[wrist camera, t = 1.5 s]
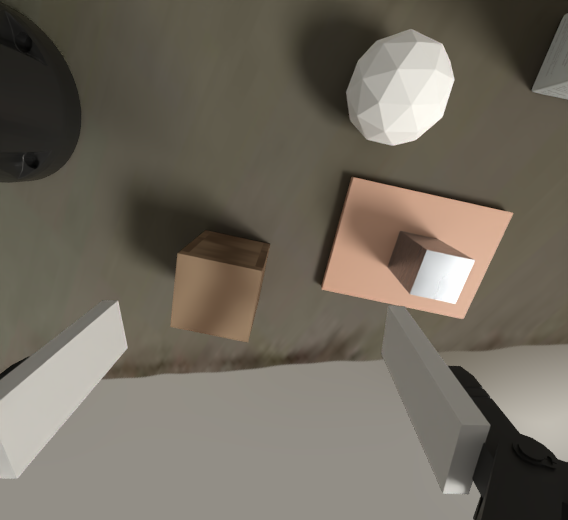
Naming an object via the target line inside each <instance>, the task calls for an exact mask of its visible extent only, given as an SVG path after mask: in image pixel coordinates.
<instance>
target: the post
mask: <svg viewBox="0 0 568 520" xmlns="http://www.w3.org/2000/svg"><path fill="white" fill-rule="evenodd" d="M474 261H475V260H474V259H472V258H470V257H468V256H467V255H465V254H463V253H461V252H460V251H458V250H456V249H455V248H453V247H451V246H449V245H448V244H446V243H444V242H443V241H441V240H439V239H436V238H431V237H426V236H422V235H417V234H413V233H408V232H404V231H400V233H399V235H398V238H397V241H396V244H395V247H394V250H393V252H392V255H391V258H390V261H389V264H388V269H389V270H390V271H391V272H392V273H393V275H394V276H395V277H396V278H397V280H398V281H399V282H400V283H401V284H402V286H403V287H404V288H405V289H406V290H407V292H408V293H409V294H411V295H415V296H420V297H425V298H430V299H434V300H439V301H444V302H449V303H453V304H455V303H456V301H457V299H458V297H459V295H460V292H461V290H462V288H463V286H464V284H465V281H466V279H467V277H468V275H469V273H470V270H471V268H472V266H473V264H474Z"/></svg>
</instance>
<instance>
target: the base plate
mask: <svg viewBox="0 0 568 520" xmlns="http://www.w3.org/2000/svg"><path fill="white" fill-rule="evenodd" d="M512 215H513V213H511V212H507V211H503V210H498V209H494V208H489V207H485V206H480V205H476V204H471V203H467V202H462V201H458V200H453V199H449V198H445V197H440V196H436V195H431V194H427V193H422V192H418V191H413V190H409V189H404V188H400V187H395V186H391V185H386V184H382V183H377V182H373V181H369V180H364V179H360V178H355V177H351V180H350V184H349V188H348V191H347V195H346V198H345V202H344V206H343V209H342V213H341V216H340V220H339V224H338V227H337V231H336V234H335V238H334V242H333V245H332V249H331V252H330V256H329V260H328V263H327V267H326V270H325V274H324V278H323V281H322V285H321V287H322V290H327V291H332V292H336V293H341V294H346V295H351V296H355V297H360V298H365V299H370V300H375V301H379V302H384V303H389V304H394V305H398V306H405V307H408V308H413V309H417V310H422V311H427V312H432V313H436V314H441V315H446V316H451V317H456V318H460V319H464V317H465V315H466V312H467V310H468V308H469V306H470V304H471V302H472V300H473V298H474V296H475V293H476V291H477V289H478V287H479V285H480V283H481V281H482V279H483V276H484V274H485V272H486V270H487V268H488V266H489V264H490V262H491V259H492V257H493V255H494V253H495V251H496V249H497V247H498V245H499V243H500V240H501V238H502V236H503V234H504V232H505V230H506V228H507V226H508V223H509V221H510V219H511V217H512ZM400 231H404V232H408V233H413V234H417V235H422V236H426V237H431V238H436V239H439V240H441V241H443V242H444V243H446V244H448V245H449V246H451V247H453V248H455V249H456V250H458V251H460V252H461V253H463V254H465V255H467V256H468V257H470V258H472V259H474V260H475V261H474V264H473V266H472V268H471V270H470V273H469V275H468V277H467V279H466V281H465V284H464V286H463V288H462V290H461V292H460V295H459V297H458V299H457V301H456V303H455V304H453V303H449V302H444V301H439V300H434V299H430V298H425V297H420V296H415V295H411V294H409V293H408V292H407V290H406V289H405V288H404V287H403V286H402V284H401V283H400V282H399V281H398V280H397V278H396V277H395V276H394V275H393V273H392V272H391V271H390V270H389V269H388V264H389V261H390V258H391V255H392V252H393V250H394V247H395V244H396V241H397V238H398V235H399V233H400Z"/></svg>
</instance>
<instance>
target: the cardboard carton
mask: <svg viewBox="0 0 568 520" xmlns="http://www.w3.org/2000/svg"><path fill="white" fill-rule="evenodd" d="M269 248H270V244H268V243H263V242H259V241H254V240H249V239H244V238H240V237H235V236H230V235H226V234H221V233H216V232H212V231H207V230H205V231H204V232H203V233H202V234H200V235H199V236H198V237H197V238H196V239H194V240H193V241H192V242H191V243H189V244H188V245H187V246H186V247H185V248H183V249H182V250H181V251H180V252H178V254H177V264H176V274H175V285H174V295H173V305H172V315H171V326H170V327H174V328H179V329H184V330H189V331H194V332H199V333H204V334H209V335H214V336H219V337H224V338H229V339H234V340H239V341H244V342H248V340H249V336H250V333H251V329H252V325H253V321H254V317H255V313H256V309H257V305H258V301H259V296H260V292H261V287H262V282H263V277H264V272H265V267H266V262H267V257H268V252H269Z"/></svg>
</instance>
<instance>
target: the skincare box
mask: <svg viewBox="0 0 568 520" xmlns="http://www.w3.org/2000/svg"><path fill="white" fill-rule="evenodd" d="M532 92H536V93H540V94H544V95H549V96H554V97H559V98H563V99H568V13H567V14H565V15H564V16H563V18H562V20H561V22H560V25H559V27H558V29H557V32H556V34H555V36H554V39H553V41H552V43H551V46H550V48H549V50H548V52H547V55H546V57H545V59H544V62H543V64H542V66H541V69H540V71H539V73H538V76H537V78H536V80H535V83H534V85H533V87H532Z"/></svg>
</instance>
